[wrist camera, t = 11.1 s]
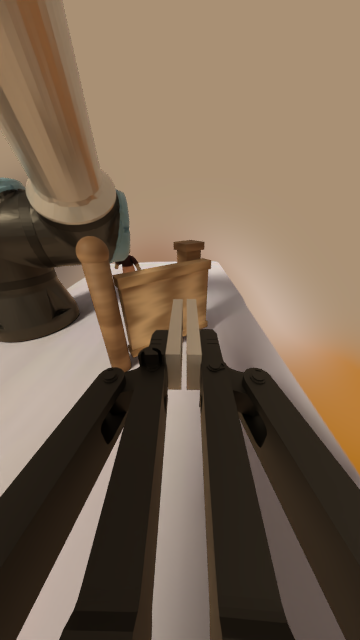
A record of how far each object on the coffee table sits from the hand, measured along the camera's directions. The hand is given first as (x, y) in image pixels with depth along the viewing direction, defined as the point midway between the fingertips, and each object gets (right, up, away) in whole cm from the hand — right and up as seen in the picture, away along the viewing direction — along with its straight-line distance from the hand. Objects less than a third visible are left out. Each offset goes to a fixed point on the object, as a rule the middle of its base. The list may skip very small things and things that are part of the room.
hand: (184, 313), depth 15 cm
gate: (-2, -3, +14) cm, 14 cm away
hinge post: (-9, -7, +11) cm, 15 cm away
